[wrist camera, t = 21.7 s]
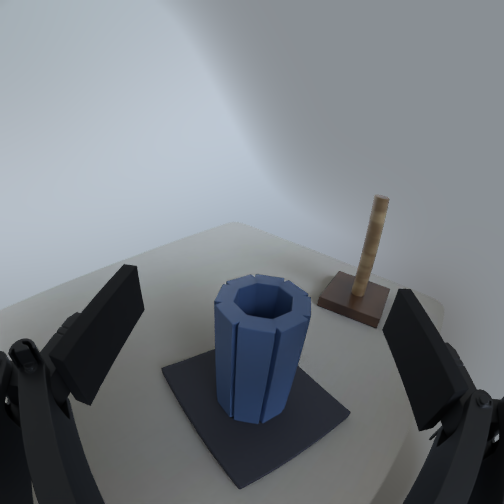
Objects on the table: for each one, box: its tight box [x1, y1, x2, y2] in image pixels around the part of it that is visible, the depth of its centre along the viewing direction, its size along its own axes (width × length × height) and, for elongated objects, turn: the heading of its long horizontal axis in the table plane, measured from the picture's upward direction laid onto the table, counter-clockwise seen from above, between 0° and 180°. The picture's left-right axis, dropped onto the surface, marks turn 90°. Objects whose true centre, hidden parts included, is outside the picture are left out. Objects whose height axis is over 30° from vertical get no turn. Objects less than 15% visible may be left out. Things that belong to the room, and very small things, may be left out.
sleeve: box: [214, 274, 311, 424], centre depth 20 cm, size 6×6×11 cm
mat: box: [162, 349, 351, 489], centre depth 22 cm, size 14×12×1 cm
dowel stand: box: [317, 195, 390, 328], centre depth 34 cm, size 9×9×16 cm
